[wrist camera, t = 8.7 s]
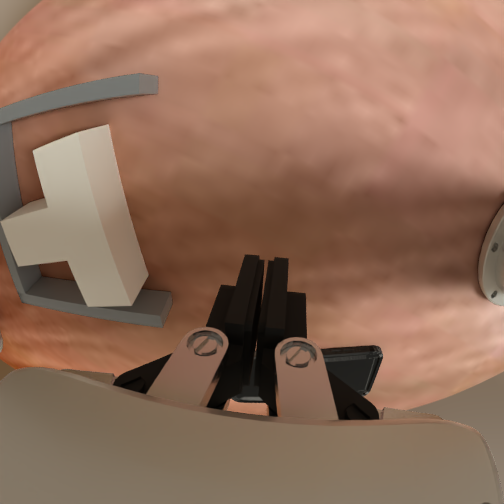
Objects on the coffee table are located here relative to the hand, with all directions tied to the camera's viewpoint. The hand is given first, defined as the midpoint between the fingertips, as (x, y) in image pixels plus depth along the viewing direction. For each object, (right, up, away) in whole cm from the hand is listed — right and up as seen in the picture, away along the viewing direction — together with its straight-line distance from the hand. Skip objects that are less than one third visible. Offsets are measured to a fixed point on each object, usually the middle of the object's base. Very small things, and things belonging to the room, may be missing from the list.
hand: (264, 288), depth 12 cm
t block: (-14, +4, +9) cm, 17 cm away
